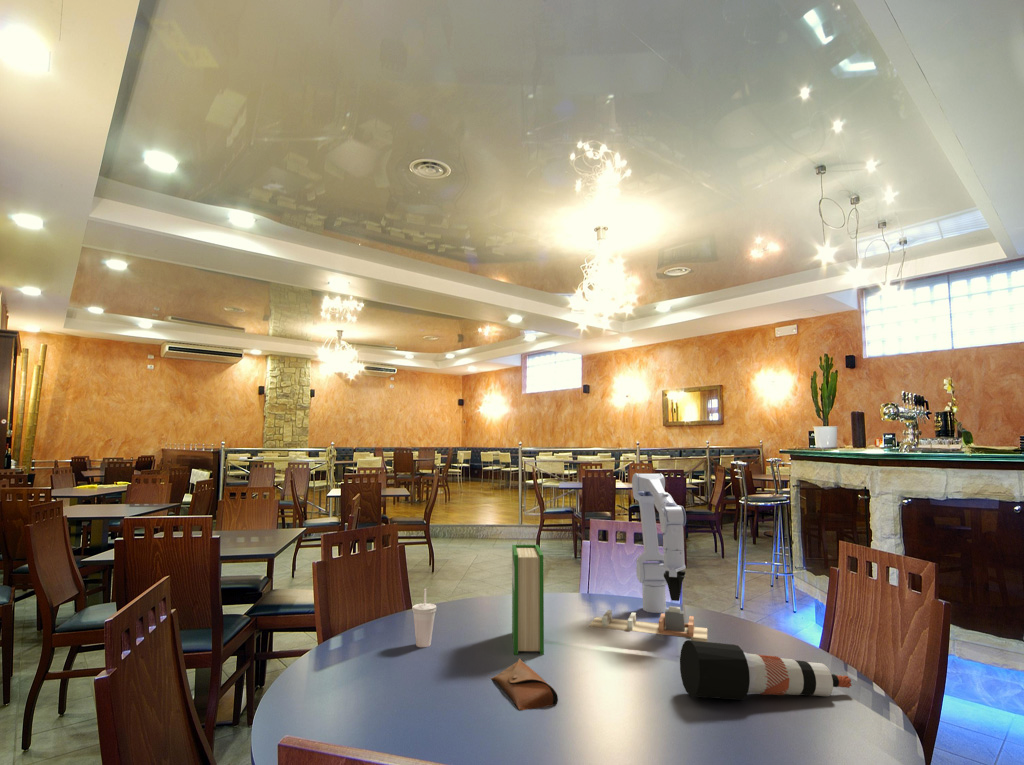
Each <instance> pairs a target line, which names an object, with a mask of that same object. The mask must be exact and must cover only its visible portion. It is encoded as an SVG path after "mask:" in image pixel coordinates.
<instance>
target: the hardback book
mask: <svg viewBox="0 0 1024 765" xmlns="http://www.w3.org/2000/svg"><path fill="white" fill-rule="evenodd" d="M511 549H512V551H511V552H512V553H511V554H512V557H511V558H512V559H511V560H512V561H511V562H512V565H511V566H512V567H511V569H512V570H511V572H512V573H511V576H512V577H511V581H512V583H511V585H512V586H511V591H512V592H511V594H512V595H511V596H512V597H511V599H512V600H511V601H512V602H511V603H512V604H511V615H512V616H511V635H512V645H513V654H514V656H518V655H519V652H539V655H541V656H543V655H545V642H544V641H545V640H544V639H545V632H544V631H545V624H544V623H545V622H544V621H545V620H544V619H545V618H544V617H545V616H544V615H545V614H544V612H545V608H544V606H545V605H544V604H545V603H544V600H545V599H544V598H545V597H544V594H545V592H544V591H545V590H544V580H545V579H544V553H543V552H542V550H541V548H540V545H539V544H512V548H511Z"/></svg>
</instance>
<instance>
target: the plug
mask: <svg viewBox="0 0 1024 765" xmlns="http://www.w3.org/2000/svg"><path fill="white" fill-rule="evenodd" d="M668 608H669V609H666V610H665V612H664V614H665V628H666V630H670V631H679V632H685V622H686V620H685V610H681V606H668Z"/></svg>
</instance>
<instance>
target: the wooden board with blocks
mask: <svg viewBox="0 0 1024 765" xmlns="http://www.w3.org/2000/svg"><path fill="white" fill-rule="evenodd" d="M612 611H613V610H611V609H610V610H609V609H607V611H606V612H605V613H604V614H603V616H602V617H600V616H598V617H597V616H595V617H594V619H593V620H592V621H591V623H590V624H589V625H588V627H591V628H601V629H610V630H619V631H628V632H636V633H637V632H639V633H647V634H656V635H657V634H658V635H666V636H676V637H685V638H690V640H692V641H703V642H708V628H707V627H699V626H695V616H693V615H689V617H688V623H685V632H679V631H670V630H666V628H665V613H664V612H663V613H660V617H659V618H658V623H657V622H649V621H638V620H637V612H631V614H629V617H628V619H618V618H613V615H612V614H613V613H612Z"/></svg>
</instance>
